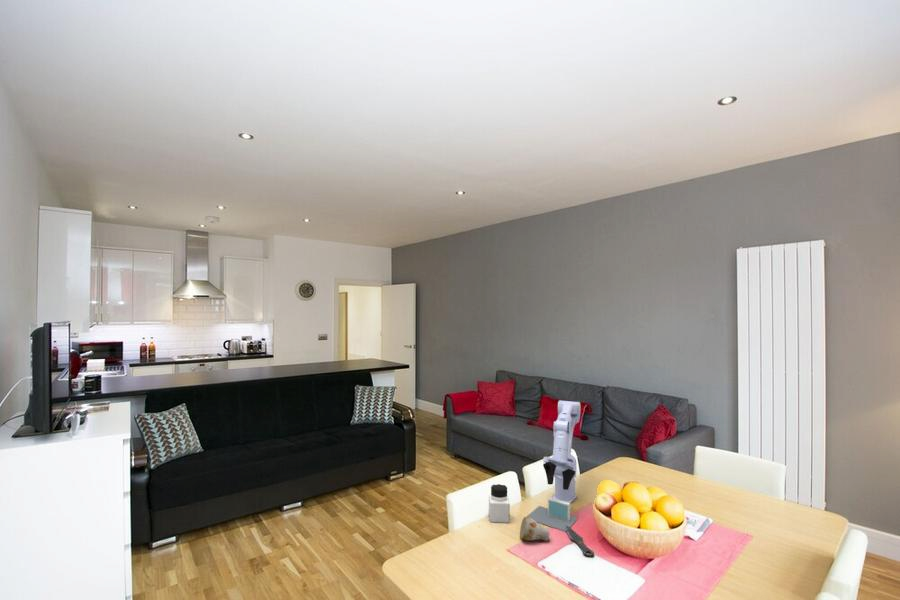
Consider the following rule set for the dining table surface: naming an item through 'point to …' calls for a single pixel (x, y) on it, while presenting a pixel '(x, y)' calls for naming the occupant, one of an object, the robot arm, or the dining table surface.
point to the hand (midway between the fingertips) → (557, 486)
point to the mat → (551, 519)
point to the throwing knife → (579, 541)
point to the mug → (533, 530)
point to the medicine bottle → (499, 504)
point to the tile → (559, 509)
